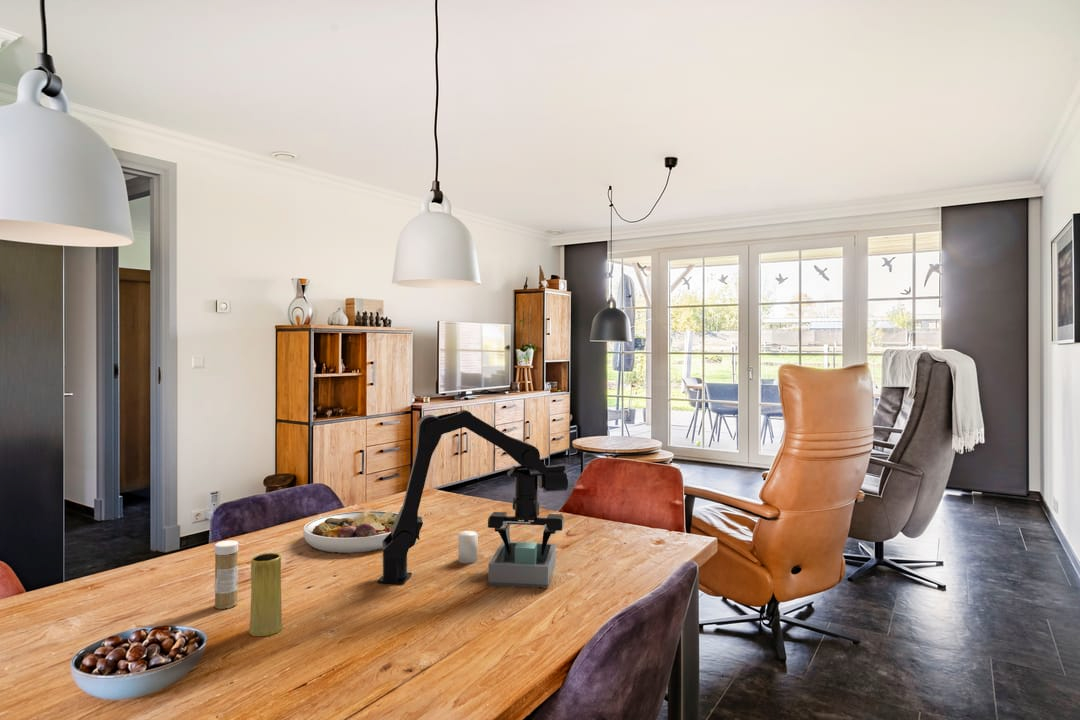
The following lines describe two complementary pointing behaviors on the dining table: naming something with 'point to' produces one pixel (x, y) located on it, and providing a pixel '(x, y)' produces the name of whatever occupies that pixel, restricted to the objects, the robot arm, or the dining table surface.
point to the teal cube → (526, 553)
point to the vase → (265, 595)
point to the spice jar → (226, 574)
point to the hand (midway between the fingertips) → (526, 555)
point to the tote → (521, 568)
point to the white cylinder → (467, 546)
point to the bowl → (350, 531)
